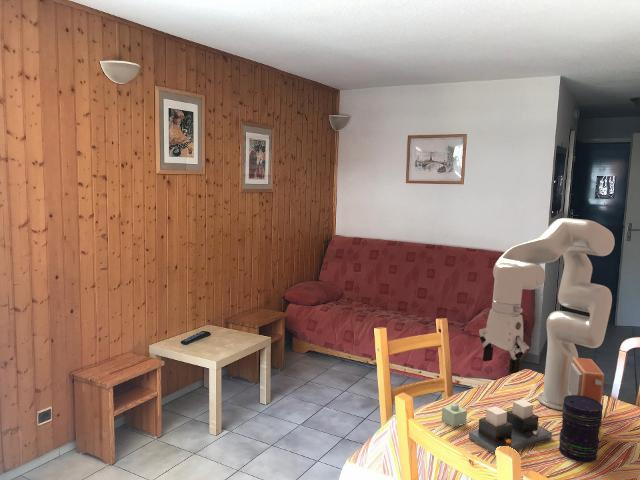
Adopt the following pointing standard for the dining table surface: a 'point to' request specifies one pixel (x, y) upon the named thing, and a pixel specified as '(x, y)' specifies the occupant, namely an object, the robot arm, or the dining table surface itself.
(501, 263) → the robot arm
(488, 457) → the dining table surface
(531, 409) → the breaker button
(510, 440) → the breaker board
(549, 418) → the dining table surface
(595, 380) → the orange fan heater
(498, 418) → the tagged breaker button
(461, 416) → the cap
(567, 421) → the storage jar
